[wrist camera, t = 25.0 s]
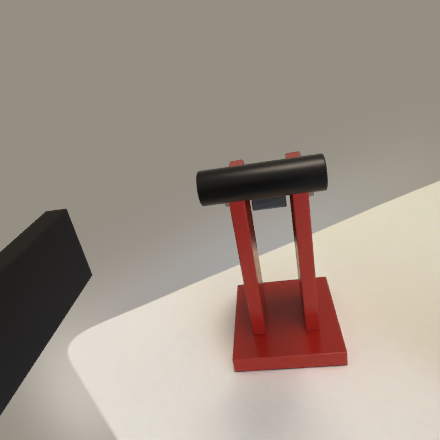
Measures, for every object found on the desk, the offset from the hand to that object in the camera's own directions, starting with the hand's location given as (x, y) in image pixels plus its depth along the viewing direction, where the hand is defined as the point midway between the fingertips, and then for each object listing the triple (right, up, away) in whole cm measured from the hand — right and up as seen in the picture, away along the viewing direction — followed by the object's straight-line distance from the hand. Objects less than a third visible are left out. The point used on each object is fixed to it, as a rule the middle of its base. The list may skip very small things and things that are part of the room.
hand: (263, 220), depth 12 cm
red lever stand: (+4, -9, +19) cm, 21 cm away
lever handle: (+1, +1, +9) cm, 9 cm away
